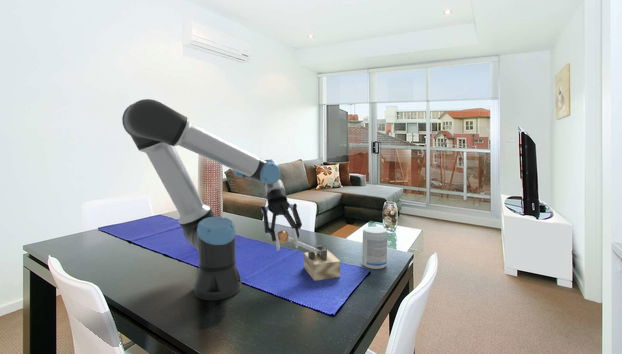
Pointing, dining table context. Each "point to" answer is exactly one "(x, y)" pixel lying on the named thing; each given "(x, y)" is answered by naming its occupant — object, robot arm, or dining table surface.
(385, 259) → the supplement tub
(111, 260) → the dining table surface
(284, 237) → the press lever
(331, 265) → the block with knobs
